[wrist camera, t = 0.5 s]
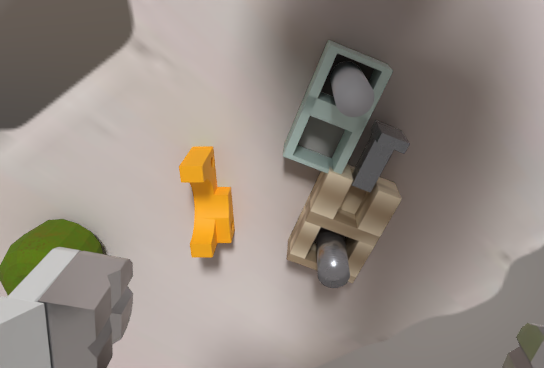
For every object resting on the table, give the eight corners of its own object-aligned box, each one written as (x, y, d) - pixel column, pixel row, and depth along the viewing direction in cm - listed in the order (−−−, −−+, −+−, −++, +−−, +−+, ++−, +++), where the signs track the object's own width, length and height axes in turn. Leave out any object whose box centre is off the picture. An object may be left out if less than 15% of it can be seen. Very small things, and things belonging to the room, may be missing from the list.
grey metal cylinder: (322, 215, 56) (325, 257, 48) (348, 224, 57) (355, 268, 48) (311, 236, 58) (312, 281, 49) (336, 246, 58) (341, 291, 50)
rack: (328, 39, 47) (333, 52, 39) (386, 63, 48) (404, 82, 39) (284, 144, 53) (280, 176, 44) (337, 164, 53) (343, 200, 45)
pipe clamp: (234, 229, 59) (226, 257, 53) (203, 229, 59) (191, 257, 53) (227, 145, 54) (217, 166, 48) (192, 146, 54) (178, 166, 48)
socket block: (349, 262, 59) (352, 283, 55) (288, 240, 58) (286, 259, 54) (394, 182, 54) (401, 199, 50) (327, 156, 53) (329, 171, 49)
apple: (24, 213, 60) (-32, 259, 50) (98, 209, 59) (57, 255, 49) (49, 279, 64) (3, 333, 55) (119, 276, 63) (85, 331, 53)
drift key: (371, 185, 53) (376, 203, 49) (346, 176, 52) (350, 193, 48) (401, 130, 50) (409, 144, 45) (375, 119, 49) (382, 132, 45)
